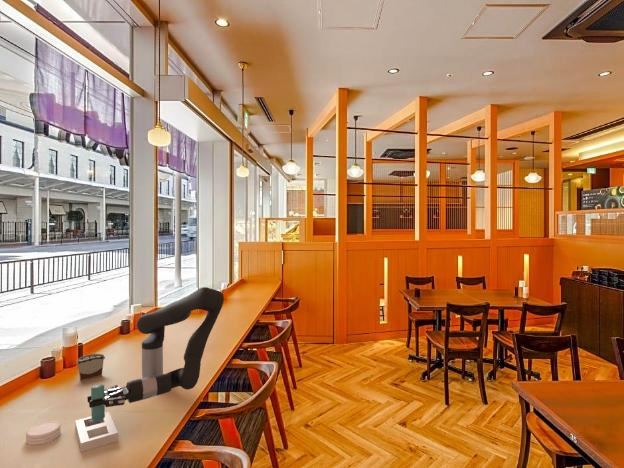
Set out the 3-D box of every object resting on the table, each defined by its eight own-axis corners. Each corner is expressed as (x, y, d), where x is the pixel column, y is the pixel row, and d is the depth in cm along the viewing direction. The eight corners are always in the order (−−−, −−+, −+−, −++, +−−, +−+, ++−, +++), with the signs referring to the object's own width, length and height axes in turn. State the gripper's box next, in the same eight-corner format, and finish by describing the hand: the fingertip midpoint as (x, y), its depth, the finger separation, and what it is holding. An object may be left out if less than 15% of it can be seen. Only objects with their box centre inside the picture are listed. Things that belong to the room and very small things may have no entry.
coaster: (19, 442, 131) (19, 432, 131) (48, 428, 141) (47, 418, 140) (39, 448, 128) (38, 438, 128) (67, 433, 137) (67, 423, 137)
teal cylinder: (90, 417, 132) (90, 386, 132) (103, 414, 135) (103, 383, 135) (92, 422, 129) (91, 390, 129) (105, 418, 132) (105, 387, 131)
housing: (75, 428, 140) (75, 420, 140) (108, 419, 146) (108, 411, 146) (80, 452, 125) (80, 442, 125) (117, 441, 132) (117, 432, 132)
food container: (101, 371, 194) (101, 351, 194) (105, 374, 190) (105, 354, 190) (73, 377, 186) (73, 357, 185) (76, 381, 181) (76, 360, 181)
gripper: (137, 373, 146) (85, 384, 136) (146, 385, 135) (91, 398, 124) (137, 392, 146) (85, 405, 136) (147, 406, 135) (91, 421, 125)
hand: (88, 401), depth 130 cm, fingers closed on teal cylinder, 4 cm apart
